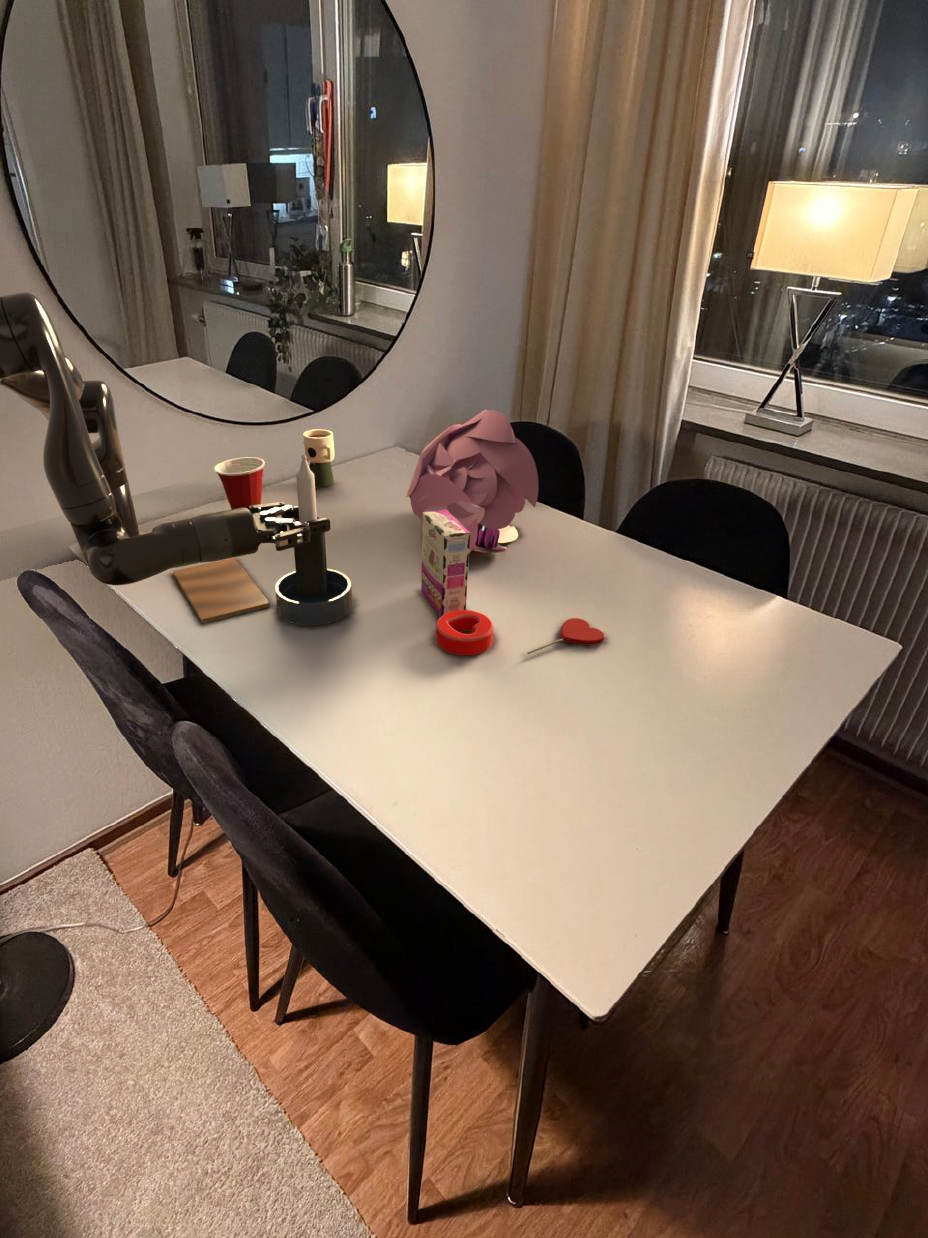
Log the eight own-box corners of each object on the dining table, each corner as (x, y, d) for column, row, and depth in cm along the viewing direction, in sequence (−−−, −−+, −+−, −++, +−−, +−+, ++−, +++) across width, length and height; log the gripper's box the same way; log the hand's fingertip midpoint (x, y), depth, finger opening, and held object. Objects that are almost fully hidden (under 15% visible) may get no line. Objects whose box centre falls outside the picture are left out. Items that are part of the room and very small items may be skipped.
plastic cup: (232, 503, 171) (225, 453, 164) (277, 507, 170) (272, 457, 163) (212, 522, 161) (204, 469, 155) (259, 526, 160) (253, 474, 154)
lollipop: (543, 667, 119) (609, 640, 127) (544, 662, 119) (610, 635, 126) (512, 644, 125) (577, 619, 132) (512, 639, 124) (577, 614, 132)
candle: (299, 583, 133) (289, 449, 120) (328, 583, 133) (321, 449, 120) (296, 597, 129) (285, 460, 115) (326, 597, 129) (318, 460, 116)
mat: (173, 574, 141) (172, 571, 140) (235, 561, 146) (234, 557, 146) (202, 623, 127) (201, 619, 126) (269, 606, 132) (269, 602, 132)
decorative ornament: (432, 626, 129) (432, 611, 127) (485, 622, 130) (486, 607, 129) (441, 657, 121) (441, 641, 119) (498, 652, 122) (499, 637, 121)
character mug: (298, 480, 184) (293, 429, 177) (323, 475, 188) (320, 425, 181) (319, 495, 177) (315, 442, 170) (345, 489, 181) (342, 437, 174)
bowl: (267, 599, 134) (264, 577, 132) (334, 582, 140) (332, 561, 138) (293, 633, 125) (291, 611, 123) (364, 614, 131) (363, 592, 129)
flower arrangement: (551, 568, 160) (594, 442, 147) (477, 582, 143) (518, 442, 130) (444, 503, 179) (474, 387, 166) (368, 509, 162) (395, 381, 150)
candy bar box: (467, 616, 132) (471, 532, 123) (441, 621, 130) (444, 536, 122) (444, 587, 141) (446, 507, 132) (419, 591, 139) (420, 511, 130)
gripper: (234, 531, 110) (338, 511, 118) (206, 497, 120) (304, 481, 128) (239, 575, 114) (340, 553, 122) (212, 538, 124) (307, 520, 132)
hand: (321, 516), depth 125 cm, fingers closed on candle, 6 cm apart
